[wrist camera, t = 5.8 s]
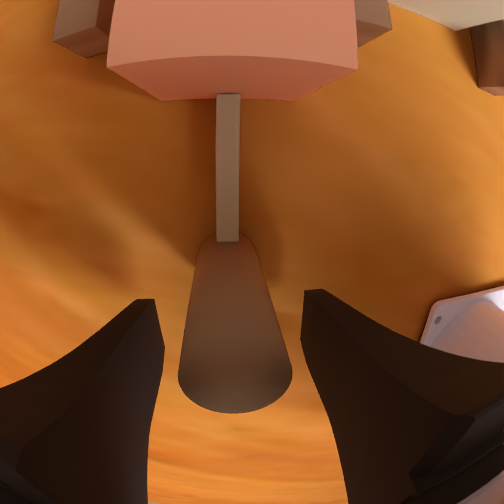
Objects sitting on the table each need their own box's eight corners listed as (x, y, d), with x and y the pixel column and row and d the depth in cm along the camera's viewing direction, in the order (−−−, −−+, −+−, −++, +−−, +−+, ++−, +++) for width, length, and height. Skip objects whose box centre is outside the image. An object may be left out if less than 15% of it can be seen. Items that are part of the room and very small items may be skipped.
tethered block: (285, 284, 11) (335, 402, 6) (170, 287, 11) (136, 410, 5) (293, -5, 7) (355, -100, 2) (169, -6, 7) (131, -108, 1)
